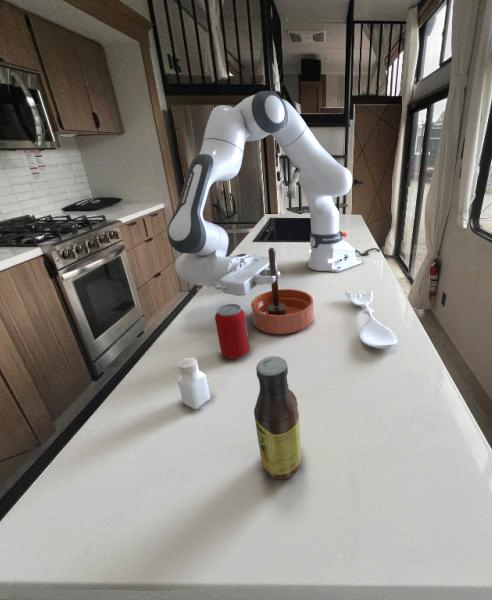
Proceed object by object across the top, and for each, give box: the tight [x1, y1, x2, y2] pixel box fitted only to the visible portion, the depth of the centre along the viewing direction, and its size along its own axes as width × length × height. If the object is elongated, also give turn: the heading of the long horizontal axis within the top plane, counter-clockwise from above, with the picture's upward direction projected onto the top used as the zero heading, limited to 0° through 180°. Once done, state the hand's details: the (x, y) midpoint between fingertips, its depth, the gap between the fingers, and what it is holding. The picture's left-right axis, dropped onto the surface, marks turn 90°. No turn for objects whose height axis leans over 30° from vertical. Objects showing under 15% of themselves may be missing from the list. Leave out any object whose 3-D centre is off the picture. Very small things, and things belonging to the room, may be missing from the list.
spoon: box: [345, 288, 398, 349], centre depth 91 cm, size 9×32×4 cm, turn 5°
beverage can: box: [214, 303, 250, 359], centre depth 76 cm, size 7×7×12 cm
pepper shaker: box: [177, 356, 211, 410], centre depth 62 cm, size 4×4×10 cm
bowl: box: [250, 288, 315, 335], centre depth 92 cm, size 17×17×6 cm
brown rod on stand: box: [267, 247, 286, 315], centre depth 87 cm, size 5×5×19 cm
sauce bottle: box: [253, 355, 302, 480], centre depth 47 cm, size 6×6×20 cm
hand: (277, 277), depth 86 cm, fingers closed on brown rod on stand
